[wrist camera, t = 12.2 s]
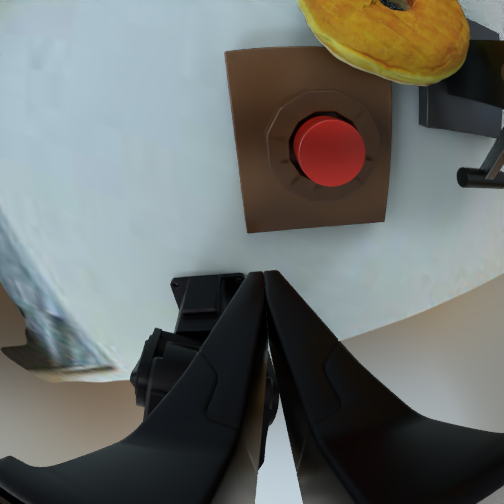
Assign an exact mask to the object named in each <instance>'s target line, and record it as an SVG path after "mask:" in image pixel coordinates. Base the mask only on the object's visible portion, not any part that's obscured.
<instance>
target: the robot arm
mask: <svg viewBox="0 0 504 504" xmlns="http://www.w3.org/2000/svg"><path fill="white" fill-rule="evenodd" d="M237 278H241V280H238V279H237ZM175 283H177V284H178V285H176V284H175ZM170 285H171V288H172V291H173V294H174V297H175V300H176V302H177V305H178V308H179V314H178V319H177V323H176V327H175V332H174V333H170V332H166V331H162V329H158V328H155V329H154V332H153V334H152V335H150V337H149V339H148V340H146V341H145V345H144V348H143V352H142V355H141V357H140V359H139V361H138V363H137V364H136V366H135V368H134V369H133V371H132V373H131V376H130V382H131V383H132V385H133V386H134V388H135V395H136V405H138V406H141V407H145V410H144V418H143V422H142V423H141V425H140V426H139V427H138V428H137V429H136V430H135V431H134V432H133V433H131V434H130V435H129V436H127V437H126V438H124V439H123V440H121V441H120V442H117V443H115V444H113V445H110V446H107V447H105V448H102V449H100V450H98V451H95V452H92V453H90V454H87V455H84V456H81V457H78V458H76V459H73V460H70V461H67V462H64V463H61V464H58V465H54V466H49V467H33V466H30V465H27V464H25V463H24V462H22V461H20V460H18V459H16V458H14V457H12V456H7V457H5V458H2V459H0V504H255V496H256V486H257V475H258V470H259V468H260V467H261V466H262V464H263V462H264V457H265V456H264V455H265V445H266V437H267V431H268V426H270V425H271V424H272V423H273V421H274V419H275V416H276V413H277V409H278V403H279V394H280V398H281V403H282V408H283V412H284V417H285V422H286V426H287V431H288V436H289V440H290V445H291V450H292V454H293V459H294V463H295V468H296V471H297V477H298V481H299V487H300V491H301V496H302V500H303V504H504V433H494V432H488V431H483V430H478V429H472V428H468V427H463V426H458V425H454V424H449V423H445V422H441V421H437V420H433V419H430V418H427V417H425V416H423V415H421V414H419V413H417V412H416V411H414V410H412V409H411V408H410V407H409V406H408V405H406V404H405V403H404V402H403V401H402V400H401V399H399V398H398V397H397V396H396V395H395V394H394V393H393V392H391V391H390V390H389V389H388V388H387V387H386V386H385V385H383V384H382V383H381V382H380V381H379V380H378V379H377V378H376V377H374V376H373V375H372V374H371V373H370V372H369V371H368V370H367V369H366V368H365V367H364V366H362V365H361V364H360V363H359V362H358V360H357V359H356V358H355V357H354V356H353V355H352V354H351V353H350V352H349V351H348V350H347V349H346V347H345V346H344V345H343V344H342V343H341V342H340V341H338V338H337V337H336V336H335V335H334V334H333V333H332V331H331V330H330V329H329V328H328V327H327V326H326V325H325V323H324V322H323V321H322V320H321V319H320V318H319V317H318V315H317V314H316V313H315V312H314V311H313V310H312V309H311V307H310V306H309V305H308V304H307V303H306V302H305V301H304V300H303V298H302V297H301V296H300V295H299V294H298V293H297V292H296V290H295V289H294V288H293V287H292V286H291V285H290V284H289V282H288V281H287V280H286V279H285V278H284V277H283V276H282V275H281V273H280V272H279V271H277V270H271V271H265V272H264V275H263V272H262V271H259V272H250V273H248V275H247V276H246V278H245V276H244V274H242V273H231V274H219V275H206V276H193V277H182V278H173V279H172V281H171V284H170ZM264 286H265V288H264ZM265 300H266V301H265ZM266 313H267V315H266ZM267 327H268V329H267ZM268 339H269V346H270V352H271V356H272V361H273V365H272V362H271V358H270V355H269V352H268ZM273 366H274V368H273ZM274 371H275V372H274Z"/></svg>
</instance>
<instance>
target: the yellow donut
mask: <svg viewBox="0 0 504 504" xmlns="http://www.w3.org/2000/svg"><path fill="white" fill-rule="evenodd" d="M297 1H298V7H299V9H300V10H301V11H302V13H303V14H304V16H305V19H306V23H307V24H308V26H309V27H310V29H311V31H312V33H313V34H314V35H315V37H316V38H317V39H318V41H319V42H320V43H322V44H323V45H324V46H325V47H326V48H327V49H328V50H329V51H330V52H331V53H332V54H333V55H334V56H335V57H336V58H338V59H339V60H341V61H343V62H345V63H347V64H349V65H351V66H352V67H354V68H357V69H359V70H362V71H365V72H368V73H371V74H375V75H377V76H380V77H382V78H384V79H387V80H391V81H393V82H396V83H399V84H406V85H416V86H428V85H430V84H434V83H437V82H439V81H441V80H442V79H444V78H447V77H449V76H451V75H452V74H454V73H456V71H458V70H459V69H460V68H461V66H462V65H463V63H464V61H465V60H466V54H467V51H468V47H469V40H470V38H471V37H470V34H469V33H470V29H469V24H468V21H467V20H466V17H465V15H464V12H463V10H462V8H461V6H460V4H459V2H458V0H388V1H390V2H392V3H394V4H396V5H397V6H399V7H400V8H402V9H403V10H404V11H399V10H392V9H390V8H388V7H386V6H384V5H383V4H382V3H381V2H380V1H379V0H297Z"/></svg>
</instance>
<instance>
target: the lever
mask: <svg viewBox="0 0 504 504" xmlns="http://www.w3.org/2000/svg"><path fill="white" fill-rule="evenodd" d="M503 165H504V127H503V129H502V131H501V133H500V134H499V136H498V138H497V140H496V142H495V143H494V145H493V147H492V149H491V150H490V152H489V154H488V155H487V157H486V159H485V160H484V162H483V164H482V165H481V167H480V168H479V169H477V168H464V167H461V168H460V169H459V170H458V171H457V181H458V184H459V185H460V186H461V187H463V188H493V189H503V188H504V172H502V171H500V169H501V168H502V166H503Z"/></svg>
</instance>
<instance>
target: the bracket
mask: <svg viewBox="0 0 504 504" xmlns="http://www.w3.org/2000/svg"><path fill="white" fill-rule="evenodd" d="M466 20H467V21H468V24H469V29H470V33H469V34H470V37H471V38H470V40H469V47H468V51H467V54H466V60H465V61H464V63H463V65H462V66H461V68H460V69H459V70H458V71H456V73H454V74H452V75H451V76H449V77H447V78H444V79H442V80H441V81H439V82H437V83H434V84H430V85H428V86H419V124H420V125H422V126H425V127H429V128H437V129H445V130H452V131H459V132H465V133H471V134H476V135H482V136H487V137H492V138H498V136H499V134H500V133H501V124H502V109H503V110H504V41H502V40H500V39H499V34H498V33H496V32H494V31H492V30H490V29H488V28H486V27H484V26H482V25H480V24H478V23H476V22H474V21H472V20H469V19H467V18H466Z"/></svg>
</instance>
